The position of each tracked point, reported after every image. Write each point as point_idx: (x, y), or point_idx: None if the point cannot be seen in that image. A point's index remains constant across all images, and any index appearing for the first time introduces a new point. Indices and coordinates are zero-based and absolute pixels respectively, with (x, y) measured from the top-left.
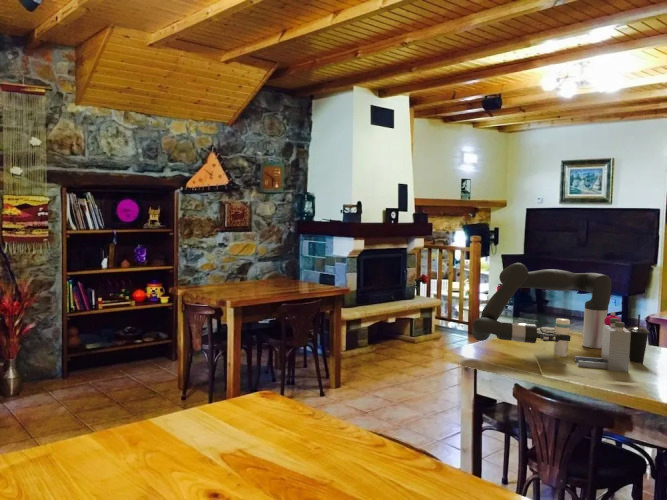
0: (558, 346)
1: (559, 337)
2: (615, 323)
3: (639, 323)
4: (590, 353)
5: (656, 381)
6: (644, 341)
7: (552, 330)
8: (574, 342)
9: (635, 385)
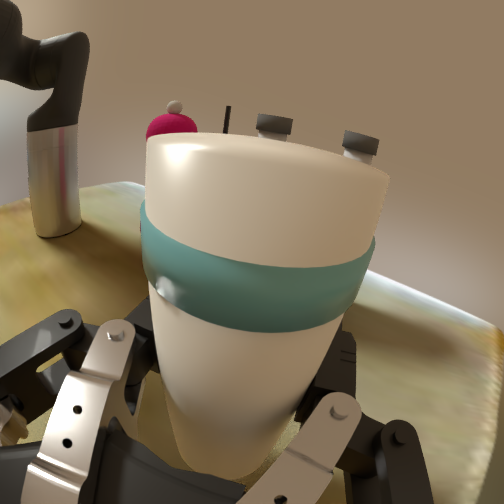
0: (268, 451)
1: (361, 424)
2: (367, 140)
3: (227, 130)
4: (94, 258)
5: (370, 275)
6: None
7: (114, 381)
8: (15, 235)
9: (428, 323)
